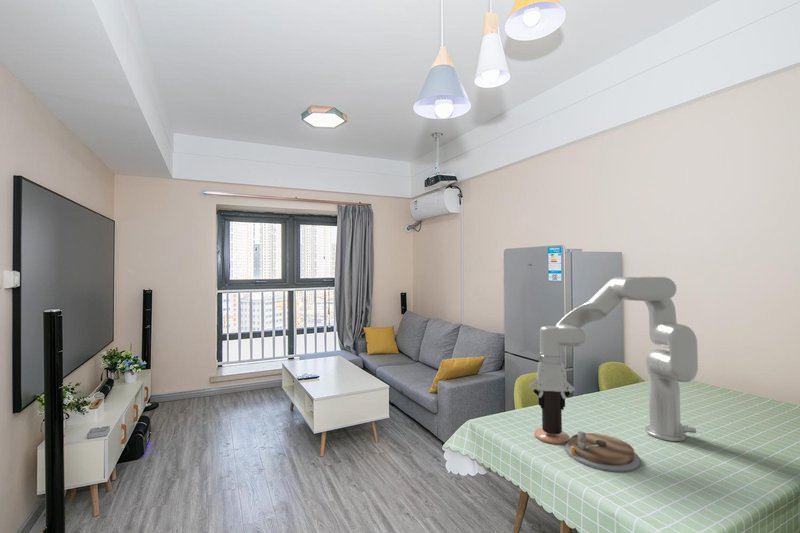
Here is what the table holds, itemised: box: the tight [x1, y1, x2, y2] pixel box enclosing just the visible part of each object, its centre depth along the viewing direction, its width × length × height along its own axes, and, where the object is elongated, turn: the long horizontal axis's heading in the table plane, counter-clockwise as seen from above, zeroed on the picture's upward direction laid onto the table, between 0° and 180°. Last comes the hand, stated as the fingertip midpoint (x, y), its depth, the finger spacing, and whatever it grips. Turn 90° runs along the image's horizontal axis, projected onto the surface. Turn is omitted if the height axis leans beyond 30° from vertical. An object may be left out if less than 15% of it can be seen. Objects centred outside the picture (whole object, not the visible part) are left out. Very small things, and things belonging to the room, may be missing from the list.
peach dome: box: [534, 427, 570, 445], centre depth 141 cm, size 12×12×1 cm
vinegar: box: [541, 391, 563, 434], centre depth 142 cm, size 7×7×20 cm
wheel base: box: [565, 440, 641, 473], centre depth 127 cm, size 22×22×3 cm
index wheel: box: [569, 431, 635, 465], centre depth 127 cm, size 19×19×7 cm
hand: (551, 407), depth 142 cm, fingers closed on vinegar, 6 cm apart
